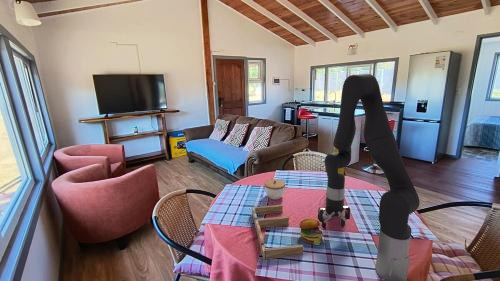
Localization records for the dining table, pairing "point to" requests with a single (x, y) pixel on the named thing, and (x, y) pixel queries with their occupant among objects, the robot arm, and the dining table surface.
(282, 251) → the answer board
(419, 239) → the dining table surface
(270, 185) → the lidded bowl
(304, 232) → the cheeseburger
